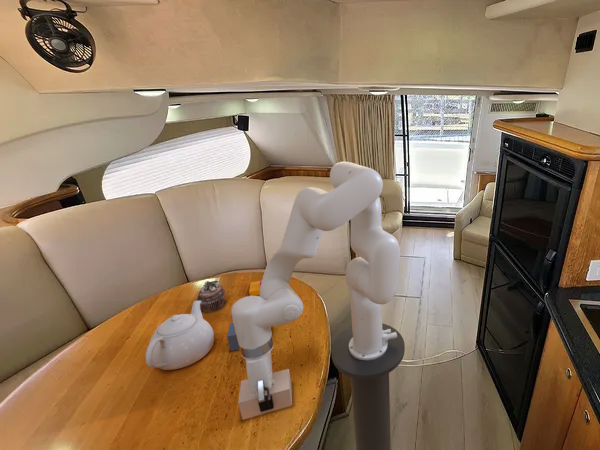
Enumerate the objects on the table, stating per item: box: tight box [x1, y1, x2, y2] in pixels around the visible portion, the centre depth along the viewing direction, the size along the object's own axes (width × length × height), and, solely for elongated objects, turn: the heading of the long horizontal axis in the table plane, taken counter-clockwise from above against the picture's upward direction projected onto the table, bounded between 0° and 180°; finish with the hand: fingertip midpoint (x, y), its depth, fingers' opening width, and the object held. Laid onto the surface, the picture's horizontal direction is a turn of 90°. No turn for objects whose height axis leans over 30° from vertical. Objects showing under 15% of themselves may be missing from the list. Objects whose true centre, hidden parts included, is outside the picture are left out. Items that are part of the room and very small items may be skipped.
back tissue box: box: [226, 321, 240, 352], centre depth 104 cm, size 12×7×6 cm, turn 110°
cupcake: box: [196, 280, 226, 313], centre depth 121 cm, size 10×10×10 cm
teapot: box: [145, 300, 215, 371], centre depth 97 cm, size 19×18×14 cm
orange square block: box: [248, 279, 262, 296], centre depth 133 cm, size 8×8×4 cm
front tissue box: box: [237, 368, 293, 421], centre depth 82 cm, size 12×7×6 cm, turn 110°
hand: (267, 396), depth 83 cm, fingers closed on front tissue box, 7 cm apart
